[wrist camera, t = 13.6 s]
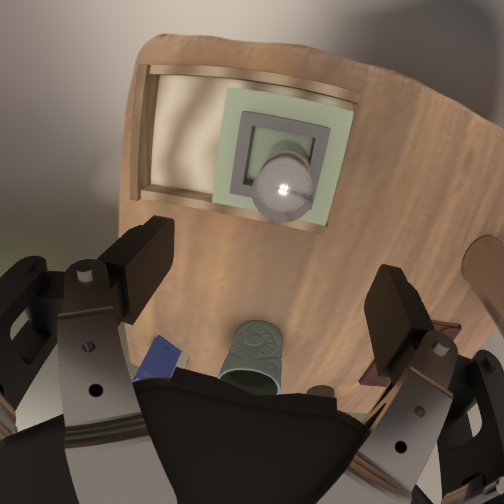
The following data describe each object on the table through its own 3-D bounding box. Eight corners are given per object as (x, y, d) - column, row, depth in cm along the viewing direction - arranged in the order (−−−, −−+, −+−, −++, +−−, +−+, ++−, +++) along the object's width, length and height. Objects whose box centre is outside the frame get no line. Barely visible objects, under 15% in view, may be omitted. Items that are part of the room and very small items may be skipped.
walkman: (153, 340, 57) (131, 383, 46) (159, 335, 56) (136, 379, 45) (182, 360, 59) (165, 404, 48) (189, 356, 57) (171, 401, 47)
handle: (310, 144, 27) (319, 171, 17) (303, 180, 29) (305, 227, 19) (272, 136, 28) (256, 158, 17) (265, 173, 30) (247, 216, 19)
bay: (354, 94, 30) (362, 93, 26) (322, 222, 39) (325, 238, 35) (156, 67, 31) (138, 64, 27) (146, 188, 40) (129, 199, 36)
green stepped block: (344, 110, 30) (359, 112, 23) (321, 207, 37) (327, 235, 29) (238, 89, 31) (221, 85, 23) (224, 187, 37) (205, 210, 30)
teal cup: (260, 360, 55) (251, 410, 44) (220, 334, 52) (203, 384, 42) (297, 337, 50) (294, 391, 40) (255, 306, 48) (243, 360, 37)
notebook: (358, 378, 55) (359, 385, 53) (401, 312, 45) (404, 320, 43) (412, 383, 54) (414, 389, 53) (459, 322, 45) (462, 329, 43)
